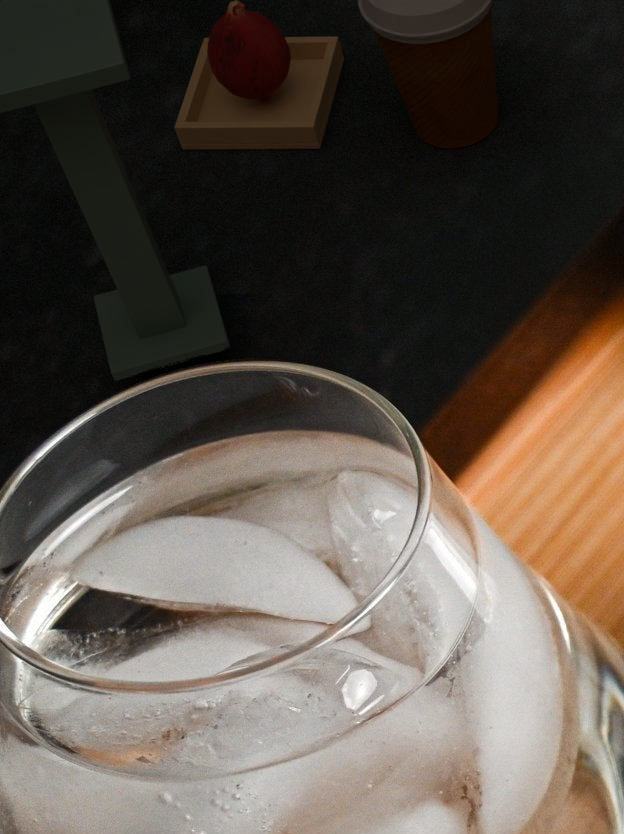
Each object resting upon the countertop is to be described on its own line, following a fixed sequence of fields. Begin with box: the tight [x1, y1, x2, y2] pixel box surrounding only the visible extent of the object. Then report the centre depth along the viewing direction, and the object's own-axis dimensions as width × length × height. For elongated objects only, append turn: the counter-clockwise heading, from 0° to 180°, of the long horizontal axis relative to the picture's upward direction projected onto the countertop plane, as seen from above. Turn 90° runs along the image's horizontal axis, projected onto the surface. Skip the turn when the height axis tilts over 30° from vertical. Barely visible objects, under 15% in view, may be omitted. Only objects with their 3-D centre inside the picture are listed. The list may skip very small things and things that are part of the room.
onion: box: [207, 0, 291, 100], centre depth 142 cm, size 6×6×8 cm
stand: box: [0, 0, 231, 382], centre depth 123 cm, size 9×9×23 cm
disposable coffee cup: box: [357, 0, 500, 149], centre depth 138 cm, size 10×10×12 cm
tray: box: [174, 36, 345, 151], centre depth 144 cm, size 10×10×2 cm
